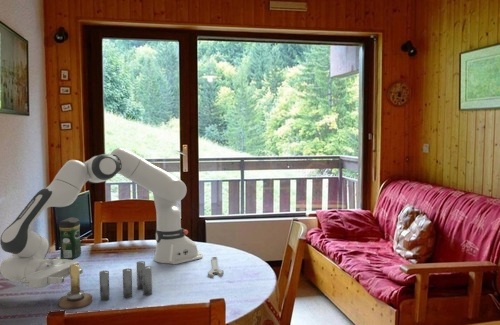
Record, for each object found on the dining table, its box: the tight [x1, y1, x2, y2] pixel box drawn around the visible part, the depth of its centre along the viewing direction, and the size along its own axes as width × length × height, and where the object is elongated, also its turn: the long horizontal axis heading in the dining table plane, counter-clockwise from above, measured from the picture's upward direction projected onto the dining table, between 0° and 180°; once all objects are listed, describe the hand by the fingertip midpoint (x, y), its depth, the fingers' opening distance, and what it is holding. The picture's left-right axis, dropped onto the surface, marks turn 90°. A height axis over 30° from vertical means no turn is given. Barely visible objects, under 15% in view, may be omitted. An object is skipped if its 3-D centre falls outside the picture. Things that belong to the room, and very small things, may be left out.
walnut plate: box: [58, 292, 93, 310], centre depth 153 cm, size 11×11×2 cm
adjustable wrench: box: [207, 256, 224, 279], centre depth 192 cm, size 25×6×2 cm, turn 1°
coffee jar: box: [58, 216, 82, 260], centre depth 207 cm, size 10×8×19 cm
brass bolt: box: [66, 263, 85, 302], centre depth 153 cm, size 6×6×12 cm
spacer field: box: [98, 260, 153, 302], centre depth 161 cm, size 15×17×10 cm
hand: (72, 275), depth 153 cm, fingers open, 8 cm apart
